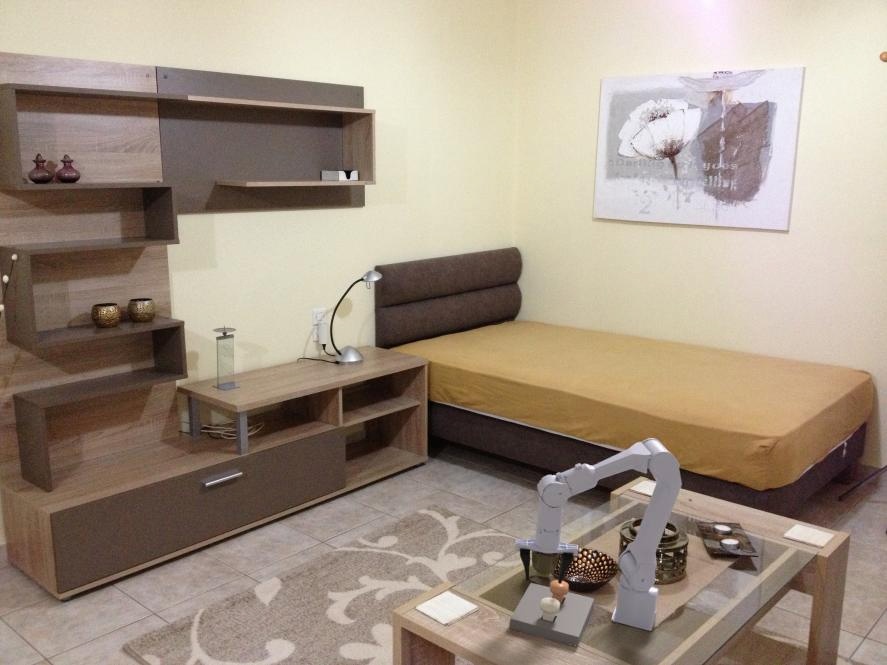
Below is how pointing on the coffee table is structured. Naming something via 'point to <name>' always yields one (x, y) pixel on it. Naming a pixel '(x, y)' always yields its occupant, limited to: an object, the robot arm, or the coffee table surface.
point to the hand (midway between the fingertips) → (543, 579)
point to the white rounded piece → (549, 608)
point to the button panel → (566, 621)
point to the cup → (544, 563)
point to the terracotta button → (559, 590)
